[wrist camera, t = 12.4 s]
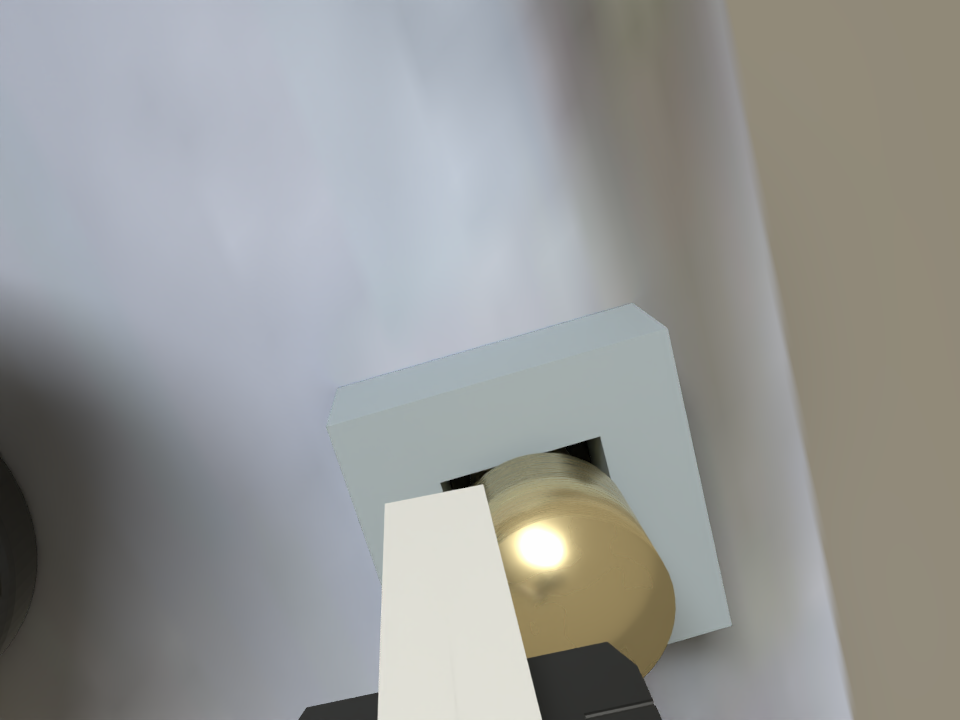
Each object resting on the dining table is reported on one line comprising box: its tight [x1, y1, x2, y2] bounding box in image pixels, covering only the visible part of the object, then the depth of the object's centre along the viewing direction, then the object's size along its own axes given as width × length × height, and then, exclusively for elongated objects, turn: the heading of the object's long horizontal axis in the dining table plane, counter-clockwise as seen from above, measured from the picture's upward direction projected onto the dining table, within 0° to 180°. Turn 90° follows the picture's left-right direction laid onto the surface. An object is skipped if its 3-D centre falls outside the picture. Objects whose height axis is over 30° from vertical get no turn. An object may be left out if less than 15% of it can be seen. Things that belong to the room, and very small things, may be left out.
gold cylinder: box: [470, 447, 676, 678], centre depth 29 cm, size 6×6×10 cm
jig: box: [326, 303, 732, 644], centre depth 31 cm, size 12×12×4 cm
